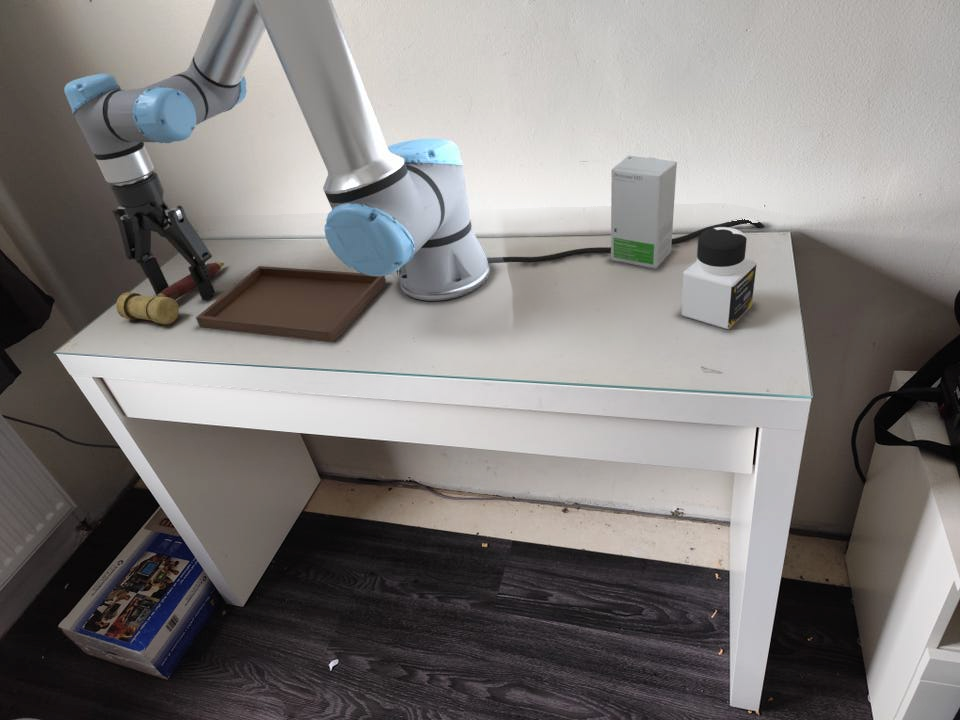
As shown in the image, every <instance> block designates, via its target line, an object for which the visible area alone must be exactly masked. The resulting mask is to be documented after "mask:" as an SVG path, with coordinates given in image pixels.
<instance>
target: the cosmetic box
mask: <svg viewBox="0 0 960 720" xmlns="http://www.w3.org/2000/svg"><path fill="white" fill-rule="evenodd" d="M677 166H678V161H674V160H667V159H660V158H655V157H649V156H648V157H644V156H637V155H626V156H625V158H623V159H622V160H621V161H620V162H619V163H617V164H616V165H615V166H614V167H612V168H611V179H610V180H611V182H610V183H611V184H610V185H611V187H610V188H611V191H610V192H611V193H610V195H611V197H610V198H611V199H610V201H611V202H610V203H611V205H610V247H611V253H610V260H611V261H613V262H620V263H624V264H630V265H635V266H639V267H645V268H649V269H655V270H657V268H658V267H660V265H661V264H662V263H663V262H664V261H665V259H666V258H667V257H668V256H669V255H670V254H671V253H672V245H671V244H672V239H673V229H674V227H673V226H674V215H675V214H674V213H675V210H674V209H675V198H676V182H677V169H678V167H677Z"/></svg>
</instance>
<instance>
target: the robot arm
mask: <svg viewBox="0 0 960 720" xmlns="http://www.w3.org/2000/svg"><path fill="white" fill-rule="evenodd" d="M265 31H266V32H267V35H268V37H269V39H270V42H271V44H272V47H273V48H274V51H275V54H276V55H277V58H278V60H279V63H280V64H281V67H282V69H283V71H284V74H285V76H286V79H287V81H288V83H289V85H290V87H291V90H292V92H293V94H294V97H295V99H296V101H297V104H298V106H299V108H300V110H301V113H302V115H303V118H304V120H305V122H306V125H307V127H308V130H309V132H310V135H311V136H312V139H313V141H314V143H315V145H316V147H317V150H318V153H319V154H320V157H321V159H322V161H323V164H324V166H325V168H326V171H327V177H326V179H325V182H324V184H323V187H322V189H323V192H324V194H325V197H326V199H327V201H328V203H329V206H330V208H331V210H330V211H329V212H328V213H327V216H326V219H325V224H324V236H325V240H326V242H327V244H328V246H329V249H330V250H331V251H332V253H333V254H334V255H335V256H336V257H337V258H338V259H339V260H340V261H341V262H342V263H343V264H344V265H346V266H347V267H348V268H351V269H353V270H355V271H356V273H362V274H365V275H369V276H385V277H386V276H390V275H392V274H394V273H396V276H398V280H399V284H400V288H401V290H402V292H404V294H406V295H407V296H408V297H411V298H413V299H416V300H421V301H427V302H428V301H429V302H433V301H436V302H437V301H446V300H451V299H456V298H460V297H462V296H465V295H468V294H471V293H472V292H474V291H476V290H477V289H478V288H480V287H482V286H483V285H484V284H485V283H486V281H487V280H488V279H489V276H490V274H491V269H490V264H507V263H522V264H523V263H524V264H525V263H526V264H527V263H529V264H530V263H532V264H533V263H544V262H550V261H555V260H559V259H564V258H568V257H569V258H570V257H573V256H580V255H587V254H589V255H590V254H611V246H609V247H608V246H607V247H606V246H605V247H604V246H603V247H602V246H600V247H599V246H597V247H595V246H594V247H583V248H575V249H570V250H565V251H561V252H557V253H552V254H547V255H540V256H491V257H487V255H486V253H485V251H484V249H483V247H482V245H481V244H480V241H479V240H478V238H477V236H476V234H475V232H474V230H473V226H472V219H471V213H470V206H469V200H468V199H469V198H468V194H467V188H466V187H467V186H466V181H465V175H464V173H465V172H464V167H463V166H464V162H463V161H462V157H461V153H460V148H459V147H458V145H457V144H456V143H455V142H454V141H452V140H449V139H445V138H418V139H410V140H406V141H399V142H397V143H393V144H391V145H387V143H386V140H385V137H384V135H383V132H382V129H381V127H380V124H379V122H378V119H377V116H376V113H375V111H374V109H373V106H372V104H371V101H370V97H369V95H368V92H367V90H366V87H365V85H364V81H363V80H362V77H361V74H360V71H359V69H358V66H357V63H356V61H355V58H354V55H353V53H352V51H351V47H350V46H349V42H348V40H347V37H346V34H345V32H344V29H343V27H342V24H341V22H340V19H339V17H338V13H337V11H336V9H335V6H334V3H333V0H214V3H213V6H212V9H211V11H210V13H209V16H208V18H207V21H206V24H205V26H204V29H203V31H202V34H201V37H200V39H199V42H198V44H197V47H196V50H195V52H194V54H193V57H192V59H191V61H190V64H189V66H188V68H187V69H186V70H184V71H182V72H179V73H176V74H175V75H172V76H170V77H168V78H165V79H162V80H159V81H157V82H154V83H152V84H150V85H147V86H145V87H140V88H131V89H122V88H121V86H120V84H119V83H118V81H117V79H116V78H115V77H114V75H112V74H109V73H97V74H92V75H88V76H83V77H80V78H76V79H73V80H71V81H69V82H67V83H66V84H65V86H64V90H63V91H64V94H65V97H66V99H67V102H68V104H69V107H70V109H71V113H72V115H73V116H74V118H75V120H76V122H77V124H78V126H79V128H80V130H81V132H82V135H83V136H84V138H85V140H86V143H87V145H88V146H89V149H90V150H91V152H92V153H93V155H94V158H95V161H96V163H97V165H98V167H99V169H100V171H101V173H102V176H103V178H104V180H105V182H107V183H109V184H110V185H109V189H110V191H111V193H112V196H113V197H114V200H115V202H116V204H117V205H118V207H116V208H114V209H113V210H112V214H113V216H114V218H115V220H116V222H117V225H118V229H119V232H120V236H121V241H122V244H123V249H124V252H125V256H126V259H128V260H130V261H132V260H135V261H136V262H135V263H136V264H139V265H140V267H141V269H142V271H143V273H144V275H145V277H146V278H147V280H148V281H149V283H150V285H151V287H152V289H153V291H154V293H155V296H156V295H158V294H159V293H161V292H162V291H163V290H164V289H166V288H167V287H169V286H170V285H169V283H168V281H167V279H166V277H165V275H164V273H163V270H162V269H161V266H160V264H159V262H158V259H157V258H156V257H154V253H153V252H152V251H151V250H152V232H153V233H157V234H158V235H159V236H160V237H161V238H165V239H166V240H167V242H169V243H170V245H172V247H173V248H174V249H175V250H176V251H177V252H178V253H179V254H180V255H181V256H182V257H183V259H185V261H186V262H187V263H188V264H189V265H190V266H188V268H187V269H188V271H189V274H191V275H192V278H193V280H194V282H195V284H196V288H197V291H198V294H199V295H200V298H201V300H202V301H207V300H208V299H209V298H211V297H212V296H213V295H214V294H216V292H217V291H216V290H215V288H214V285H213V283H212V281H211V278H210V274H209V272H208V270H207V267H206V262H208V260H210V259H212V258H213V255H212V253H211V251H210V250H209V249H208V247H207V245H206V244H205V242H204V241H203V239H202V238H201V237H200V235H199V234H198V232H197V231H196V230H195V228H194V226H193V225H192V223H191V222H190V221H189V219H188V218H187V214H186V212H185V209H184V207H183V206H182V205H177V206H176V207H169V205H167V203H166V202H165V201H164V194H165V189H164V187H163V184H162V182H161V180H160V177H159V175H158V173H157V172H155V171H154V169H155V166H154V165H153V161H152V159H151V157H150V155H149V152H148V151H147V149H146V146H145V143H159V144H171V143H174V142H181V141H182V142H183V141H186V140H187V139H189V138H190V137H191V135H192V134H193V132H194V130H195V128H196V126H198V125H200V124H201V123H203V122H205V121H207V120H209V119H211V118H213V117H216V116H218V115H220V114H223V113H226V112H228V111H231V110H233V108H235V107H236V106H237V105H239V104H240V103H242V102H243V101H244V99H245V98H246V96H247V91H248V90H247V80H246V77H245V73H246V71H247V69H248V67H249V65H250V63H251V61H252V59H253V57H254V55H255V53H256V50H257V48H258V46H259V44H260V42H261V40H262V38H263V36H264V34H265ZM741 219H742V218H741ZM736 220H737V219H736ZM730 221H731V222H729V221H725V222H722V223H718V224H714V225H710V226H706V227H704V228H701V229H698V230H695V231H693V232H690V233H688V234H685V235H682V236H678V237H675V238H672V244H671V246H674V245H677V244H680V243H681V244H682V243H684V242H689V241H691V240H694V239H696V238H698V237H699V236H700V235H701V234H702V233H703V232H704V231H706V230H708V229H712V228H717V227H728V228H733V227H736V226H740V225H748V224H747V223H750V224H749V225H752V226H754V227H756V228H757V229H764V228H765V225H764V224H763V223H762V222H760V221H759V222H758V223H752V222H751V221H749V220H745V219H744V220H743V219H742V220H737V221H733V220H730Z"/></svg>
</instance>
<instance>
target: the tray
mask: <svg viewBox="0 0 960 720" xmlns="http://www.w3.org/2000/svg"><path fill="white" fill-rule="evenodd" d="M386 279H387V278H386V276H369V275H365V274H362V273H360V272H354V271H353V272H352V271H338V270H325V269H310V268H297V267H296V268H294V267H281V266H280V267H278V266H266V265H263V266H262V265H258V266H257V267H255V269H253V270H252V271H251V272H250V273H249V274H247V275H246V276H244V277H243V279H241V280H240V281H239V282H237V283H236V284H235V285H234V286H233V287H231V288H230V289H229V290H227V291H226V292H225V293H224V294H223V295H222V296H221V297H219V298H218V299H216V300H215V301H214V302H213V303H211V305H209V306H207V308H205V309H204V310H203V311H201V313H199V314H198V315H197V316H196V317H195V319H196V322H197V324H198V326H199V328H206V329H215V330H223V331H232V332H233V331H234V332H241V333H248V334H249V333H250V334H256V335H257V334H258V335H266V336H267V335H268V336H274V337H275V336H277V337H285V338H293V339H300V340H301V339H302V340H310V341H320V342H329V343H335V342H336V341H337V340H338V338H340V336H341V335H342V334H343V333H344V332H345V331H346V330H347V329H348V327H349V326H350V325H351V324H352V323H353V322H354V321H355V320H356V318H358V316H360V314H361V313H362V312H363V311H364V310H365V309H366V308H367V307H368V305H370V303H371V302H372V301H373V300H374V299H375V298H376V297H377V295H379V293H380V292H381V291H382V290H384V288H385V287H386V285H387V284H388V283H387V280H386Z"/></svg>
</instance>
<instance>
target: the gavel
mask: <svg viewBox="0 0 960 720" xmlns="http://www.w3.org/2000/svg"><path fill="white" fill-rule="evenodd" d="M205 265H206V267H207V270H208V272H209V274H210V279H212V278H214V277H215V276H216V275H218V273H219V271H220V270H221V269H222V267H224V265H225V262H224V261H223V260H220V261H215V262H211V263H205ZM196 288H197V287H196V284H195V282H194V280H193V278H192V275H191V273H189V274H188V275H186V276H184V277H183V278H181V279H179V280H178V281H176V282H174V283H173V284H171V285H169V287H167V288H166V289H164V290H163V291H162V292H161V293H159V294H158V295H156V294H155V295H153V296H147V295H142V294H140V293H137V292H131V291H129V292H128V291H126V292H124V293H122V294H120V295H119V296H118V298H117V299H116V303H115V309H116V311H117V313H118V315H119V316H120V317H122V318H123V319H128V320H139V319H140V320H147V321H153V322H154V323H156V324H160V325H171V324H173V323H174V322H175V321H176V320H177V319H178V316H179V312H180V308H179V304H178V302H177V300H178V299H180V298H181V297H183V296H184V295H186V294H188V293H189V292H191V291H192V290H194V289H196Z"/></svg>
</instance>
